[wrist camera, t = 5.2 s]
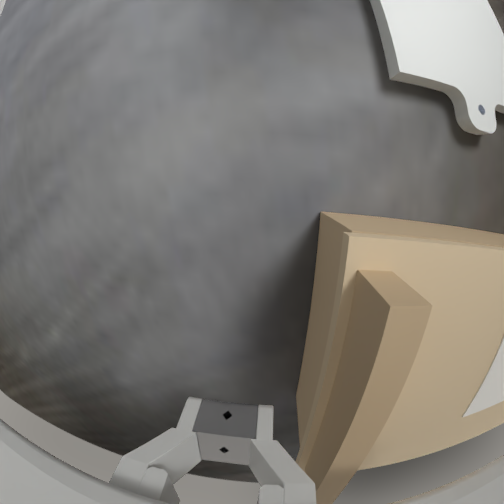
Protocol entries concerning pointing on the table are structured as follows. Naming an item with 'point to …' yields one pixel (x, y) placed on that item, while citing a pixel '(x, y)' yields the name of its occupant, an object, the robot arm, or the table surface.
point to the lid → (406, 356)
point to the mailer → (328, 276)
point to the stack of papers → (2, 5)
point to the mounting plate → (447, 54)
